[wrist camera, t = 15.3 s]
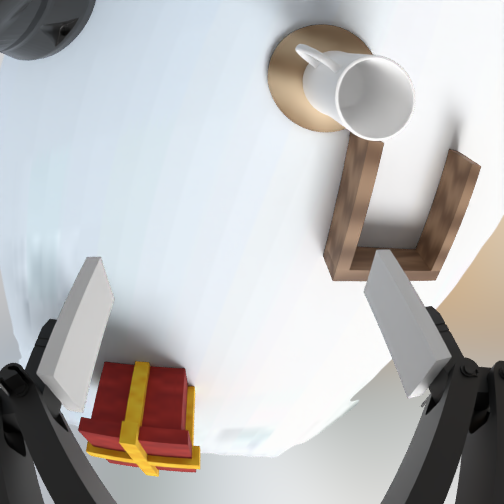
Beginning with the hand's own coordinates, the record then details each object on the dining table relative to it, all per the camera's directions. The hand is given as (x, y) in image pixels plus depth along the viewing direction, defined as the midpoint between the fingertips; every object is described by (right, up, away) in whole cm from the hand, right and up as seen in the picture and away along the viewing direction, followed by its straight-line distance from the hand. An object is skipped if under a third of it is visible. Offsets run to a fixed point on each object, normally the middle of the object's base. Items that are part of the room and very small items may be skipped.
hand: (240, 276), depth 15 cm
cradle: (+22, +9, +30) cm, 38 cm away
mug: (+9, +22, +18) cm, 30 cm away
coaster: (+9, +22, +19) cm, 31 cm away
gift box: (-24, -31, +55) cm, 68 cm away
